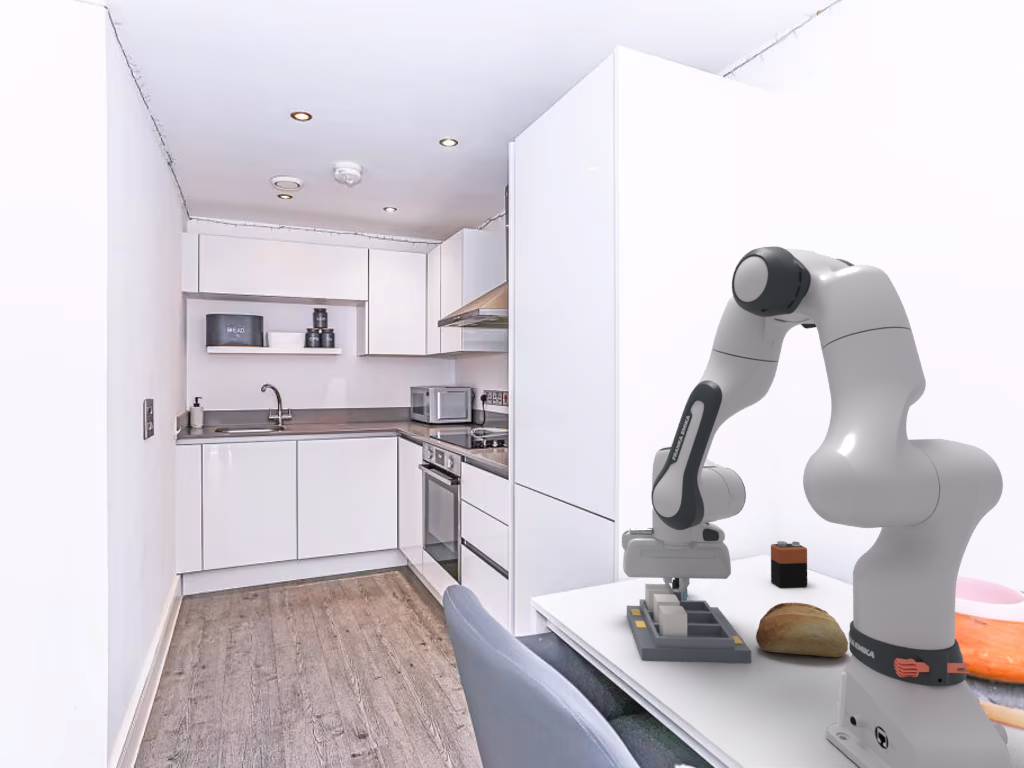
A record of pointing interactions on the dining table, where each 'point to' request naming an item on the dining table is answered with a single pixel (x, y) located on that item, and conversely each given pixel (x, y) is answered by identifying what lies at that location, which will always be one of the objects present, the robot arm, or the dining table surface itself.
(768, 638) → the bread roll
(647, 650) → the switch bank
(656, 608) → the tab
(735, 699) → the dining table surface
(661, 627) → the tab
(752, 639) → the dining table surface
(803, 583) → the battery
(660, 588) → the tab
